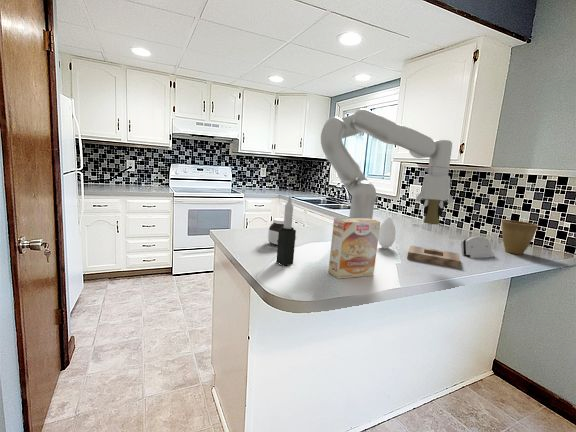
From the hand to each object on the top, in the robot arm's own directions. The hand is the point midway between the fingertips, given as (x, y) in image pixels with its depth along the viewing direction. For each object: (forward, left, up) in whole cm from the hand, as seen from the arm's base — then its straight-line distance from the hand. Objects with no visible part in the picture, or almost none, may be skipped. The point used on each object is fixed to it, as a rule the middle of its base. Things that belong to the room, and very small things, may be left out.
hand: (432, 216), depth 129 cm
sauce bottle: (-18, +12, -20) cm, 30 cm away
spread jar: (-60, -15, -20) cm, 65 cm away
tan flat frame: (+3, +7, -20) cm, 21 cm away
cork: (0, 0, -3) cm, 3 cm away
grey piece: (+22, +31, -20) cm, 43 cm away
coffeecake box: (-23, -35, -20) cm, 46 cm away
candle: (-47, -39, -20) cm, 64 cm away
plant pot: (+41, +52, -20) cm, 69 cm away
